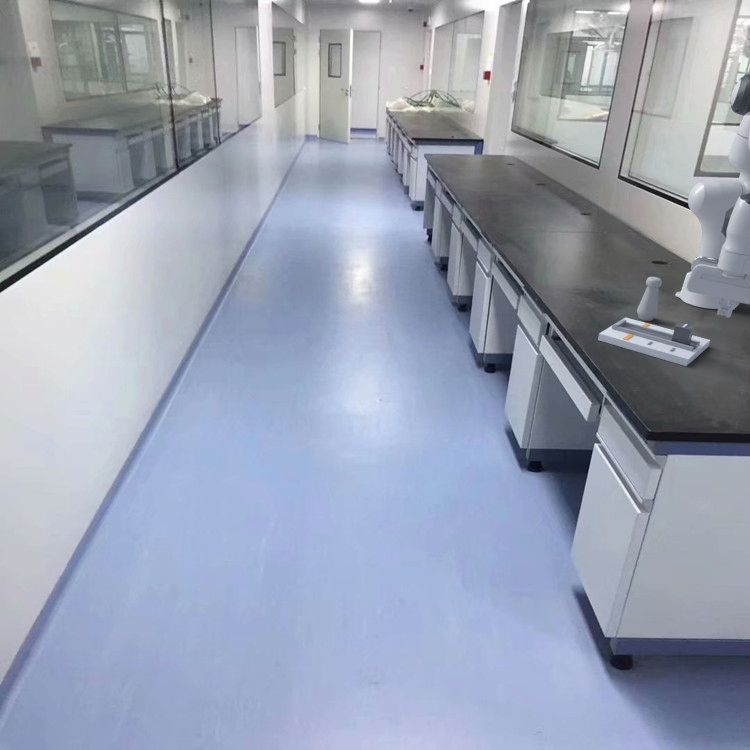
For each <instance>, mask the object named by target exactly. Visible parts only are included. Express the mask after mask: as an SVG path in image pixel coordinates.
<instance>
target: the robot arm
mask: <svg viewBox="0 0 750 750" xmlns="http://www.w3.org/2000/svg"><path fill="white" fill-rule="evenodd" d="M730 108H731V110H732V111H733V112H734V113H735V114H736V115H740V116H742V120H741V121H740V123H739V126H738V128H737V131H736V134H735V136H734V140H733V142H732V145H731V148H730V149H729V153H728V161H729V164H730V166H732V167H733V168H734V169H735V170H737V171H738V172H739V177H738V179H736V180H735V179H734V180H733V179H732V180H731V179H727V180H726V179H712V180H705V181H699V182H698V183H696V184H695V185H694V186H693V187H692V188H691V189H690V192H689V193H688V196H687V197H688V198H687V204H688V208H689V210H690V211H691V212H692V214H694V216H696V218H697V219H698V221H699V223H700V228H701V239H700V245H699V249H698V253H697V256H696V257H695V258H694V259H693V260H692V262H691V266H690V270H691V271H688V272H687V273H686V275H685V279H684V281H683V284H682V287H681V290H680V291H677V292H676V293H675V295H674V296H675V297H677V298H678V299H679V298H680V299H681V300H682V302H684V303H686V304H688V305H691V306H694V307H698V308H703V309H711V310H717V313H716V315H717V316H721V317H725V318H731V316H732V313H733V310H736V309H737V307H738V306H739V305H740V303H741V304H746V305H750V73H746V74H744V75H743V76H742V77H740V78H739V80H738V82H737V83H736V84H735V85H734V88H733V89H732V92H731V95H730ZM735 308H736V309H735Z"/></svg>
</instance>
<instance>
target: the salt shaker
mask: <svg viewBox="0 0 750 750" xmlns="http://www.w3.org/2000/svg"><path fill="white" fill-rule="evenodd" d="M662 284H663V280H662V279H661V278H660V277H657V276H648V277H647V279H646V281H645V285H646V286H647V287H646V288H645V291H644V293H643V295H642V298H641V300H640V303H639V305H638V307H637V309H636V313H637V315H638V316H637V317H638V320H640V321H642V322H652V321H653V320H654V319H655V318H656V317H657V315H658V311H659V288H660V287H661V286H662Z"/></svg>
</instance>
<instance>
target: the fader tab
mask: <svg viewBox="0 0 750 750" xmlns="http://www.w3.org/2000/svg"><path fill="white" fill-rule="evenodd" d="M673 330H674V333H673V337H672V341H674V342H677V343H681V344H684V345H690V342H691V338H692V335H693V334H694V330H695V326H692V325H688V323H680V322H679V323H677V324H676V325H675V326H674V329H673ZM693 336H694V335H693Z"/></svg>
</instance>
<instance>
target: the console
mask: <svg viewBox="0 0 750 750" xmlns="http://www.w3.org/2000/svg"><path fill="white" fill-rule="evenodd" d="M673 333H674V329H670V328H666V327H663V326H659V325H656V324H651V323H648V322H645V321H642V320H636V319H633V318H629V317H624V318H622V319H621V320H619V321H617V322H616V323H614V324H612V325H611V326H609V327H608V328H606V329H604V330H602V331H601V332H599V333H598V338H597V340H598V341H600V342H603V343H607V344H609V345H614V346H616V347H620V348H623V349H626V350H630V351H633V352H636V353H640V354H644V355H646V356H650V357H654V358H656V359H660V360H663V361H667V362H671V363H674V364H678V365H681V366H684V367H687V366H689V364H691V363H692V362H693V361H694V360H696V358H697V357H699V355H701V354H702V353H703V352H704V351H705V350H707V349H708V348H709V347H710V343H711V339H708V338H704V337H700V336H697V335H692V338H691V342H690V345H684V344H681V343H677V342H674V341H672V337H673Z"/></svg>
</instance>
